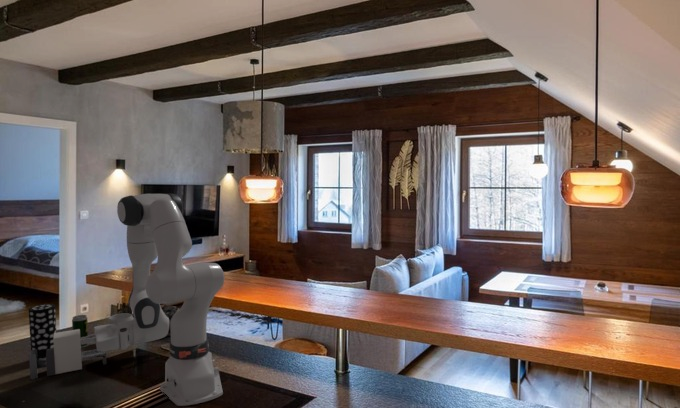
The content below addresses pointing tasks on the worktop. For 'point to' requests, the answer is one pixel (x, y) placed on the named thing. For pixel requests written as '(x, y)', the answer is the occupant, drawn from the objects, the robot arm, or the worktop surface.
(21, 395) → the worktop surface
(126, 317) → the mug
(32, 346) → the white-spotted black cylinder
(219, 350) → the worktop surface
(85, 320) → the beer can
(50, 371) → the charcoal grey box
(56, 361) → the notched block
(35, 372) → the pipe
